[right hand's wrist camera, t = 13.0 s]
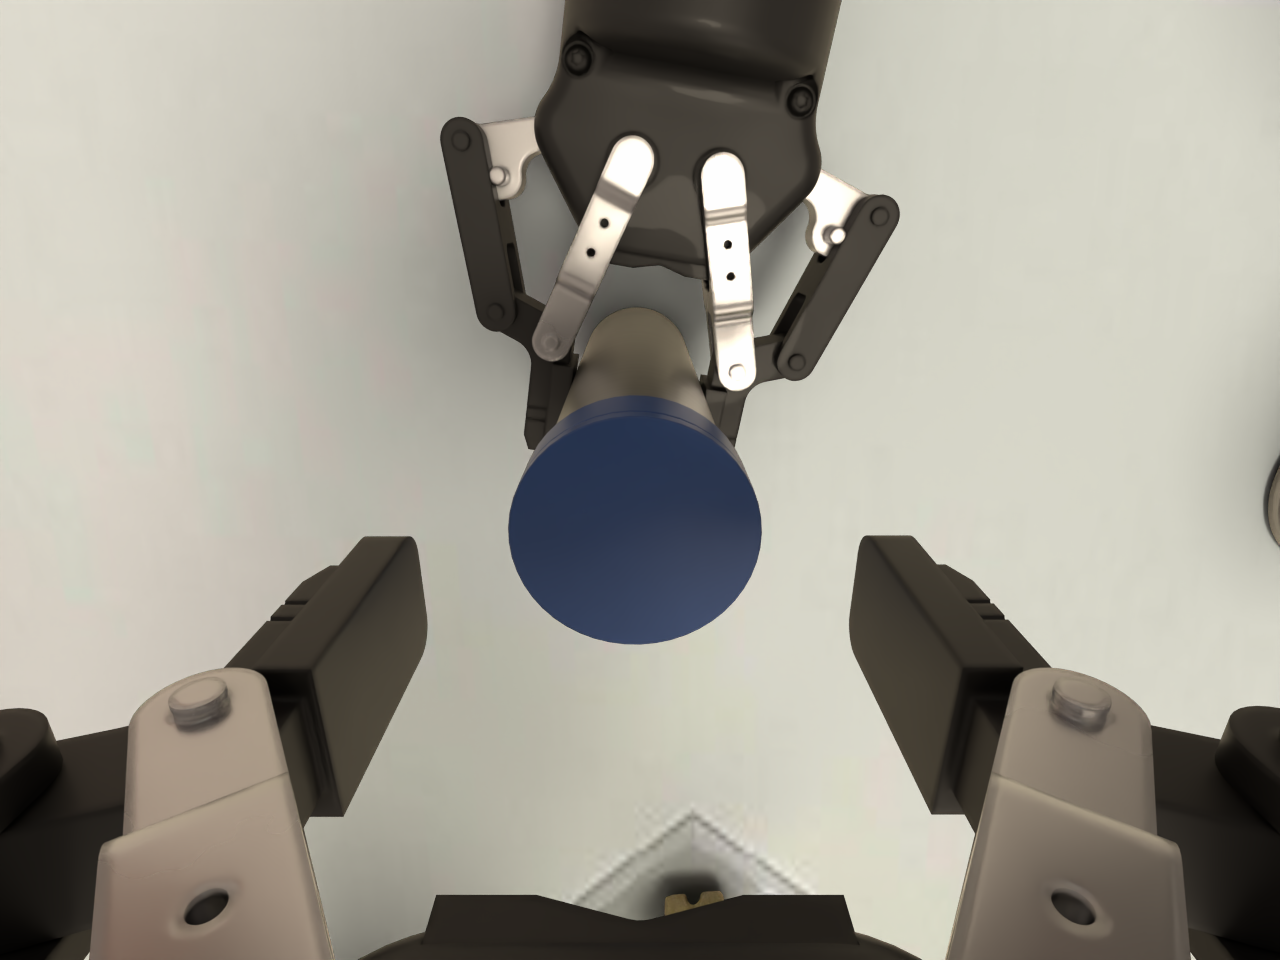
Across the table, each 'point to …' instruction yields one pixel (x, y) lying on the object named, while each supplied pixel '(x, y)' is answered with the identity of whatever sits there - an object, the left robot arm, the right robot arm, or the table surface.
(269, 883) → the right robot arm
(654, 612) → the lid
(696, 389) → the jar
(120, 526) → the table surface
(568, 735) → the table surface
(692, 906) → the sculpture
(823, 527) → the table surface
